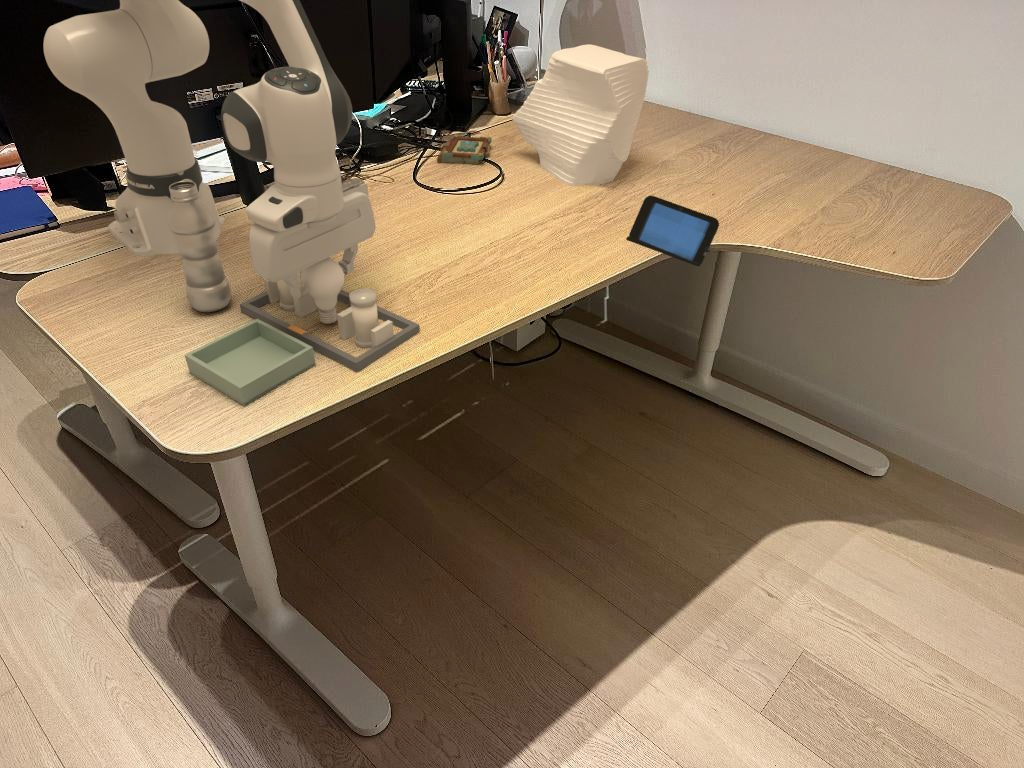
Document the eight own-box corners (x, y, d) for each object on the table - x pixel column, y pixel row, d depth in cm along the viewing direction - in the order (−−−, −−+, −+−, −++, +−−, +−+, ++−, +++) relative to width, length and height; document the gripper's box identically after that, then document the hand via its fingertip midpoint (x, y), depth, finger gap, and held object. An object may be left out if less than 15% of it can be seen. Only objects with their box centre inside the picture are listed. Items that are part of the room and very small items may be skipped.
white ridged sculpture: (578, 203, 155) (588, 73, 139) (508, 163, 173) (510, 43, 157) (655, 184, 164) (672, 60, 149) (581, 147, 182) (589, 33, 167)
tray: (189, 372, 104) (184, 355, 103) (261, 335, 112) (257, 318, 111) (244, 406, 99) (240, 388, 97) (315, 364, 107) (312, 347, 105)
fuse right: (349, 342, 111) (343, 295, 107) (368, 331, 114) (363, 285, 109) (367, 351, 110) (362, 304, 105) (386, 340, 112) (381, 293, 107)
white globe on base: (275, 305, 119) (266, 260, 115) (294, 296, 122) (286, 252, 117) (291, 313, 118) (283, 268, 113) (310, 304, 120) (302, 259, 115)
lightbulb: (352, 311, 118) (344, 248, 112) (346, 333, 113) (338, 268, 107) (312, 311, 118) (301, 248, 112) (304, 333, 113) (293, 268, 106)
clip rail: (241, 312, 118) (236, 289, 115) (305, 281, 126) (302, 259, 124) (357, 372, 105) (354, 348, 103) (419, 333, 114) (418, 310, 111)
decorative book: (431, 178, 166) (430, 155, 163) (447, 150, 180) (446, 130, 177) (490, 182, 164) (490, 159, 161) (502, 154, 178) (502, 133, 175)
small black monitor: (597, 262, 134) (602, 214, 129) (640, 239, 142) (646, 193, 137) (671, 293, 126) (679, 242, 120) (712, 267, 134) (722, 218, 128)
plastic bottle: (181, 309, 118) (147, 187, 106) (216, 292, 123) (187, 173, 111) (208, 321, 115) (176, 198, 103) (243, 303, 120) (216, 183, 108)
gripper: (350, 169, 112) (359, 253, 120) (235, 212, 98) (254, 303, 107) (380, 179, 109) (388, 264, 117) (266, 225, 95) (283, 318, 104)
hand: (323, 283), depth 112 cm, fingers open, 8 cm apart
